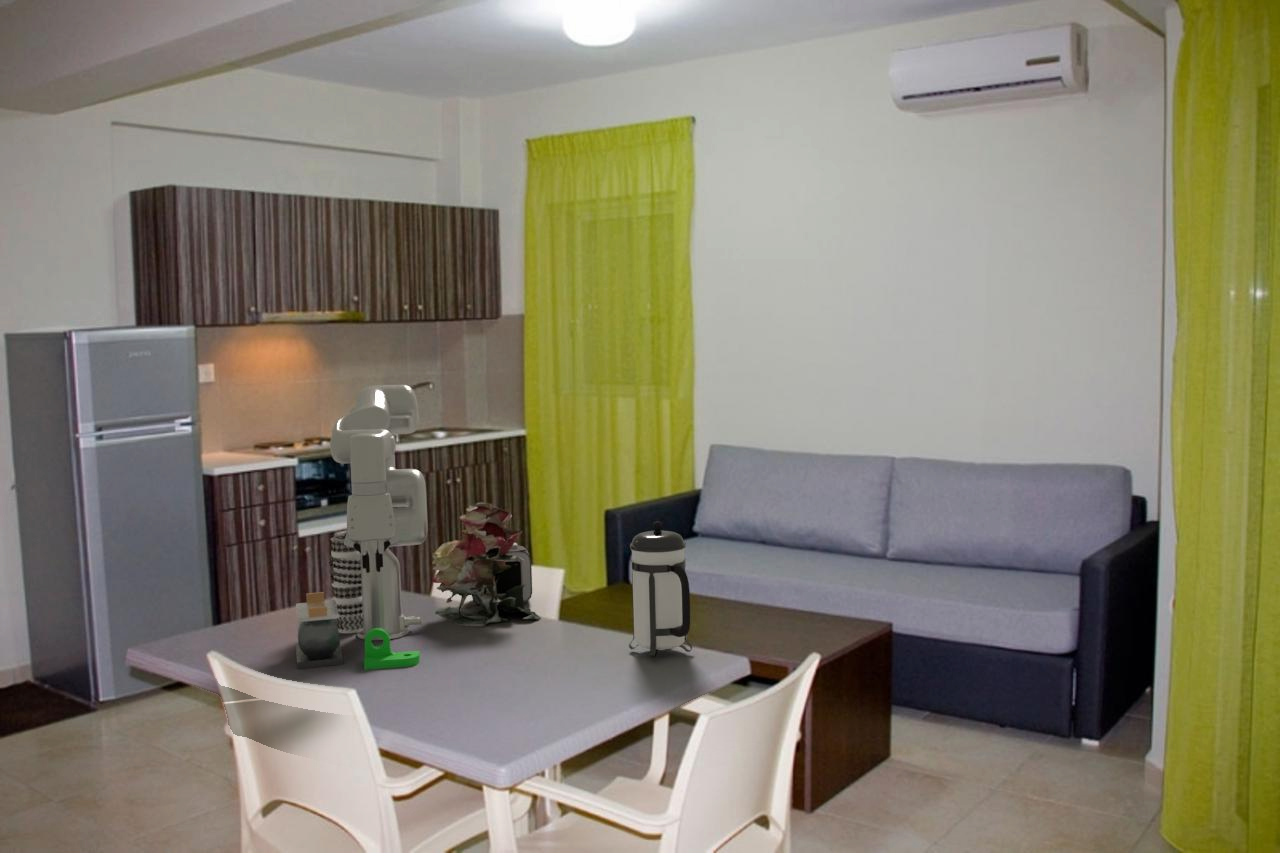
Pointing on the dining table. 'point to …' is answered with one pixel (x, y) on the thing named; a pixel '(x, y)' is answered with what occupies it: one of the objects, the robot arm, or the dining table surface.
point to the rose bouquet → (479, 567)
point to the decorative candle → (346, 584)
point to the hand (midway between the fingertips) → (372, 570)
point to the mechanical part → (386, 653)
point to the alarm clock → (513, 573)
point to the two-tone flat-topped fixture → (317, 633)
